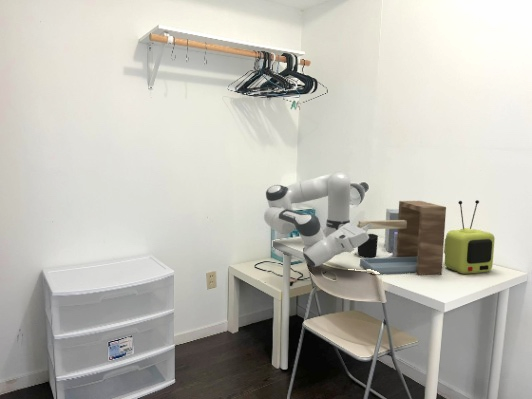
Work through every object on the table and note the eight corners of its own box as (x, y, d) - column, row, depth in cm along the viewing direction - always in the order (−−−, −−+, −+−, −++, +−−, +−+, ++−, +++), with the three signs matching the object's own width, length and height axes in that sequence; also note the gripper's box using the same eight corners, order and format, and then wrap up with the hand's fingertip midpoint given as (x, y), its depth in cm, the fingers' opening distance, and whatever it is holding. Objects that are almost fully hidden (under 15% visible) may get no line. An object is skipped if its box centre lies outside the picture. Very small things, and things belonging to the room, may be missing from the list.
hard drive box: (403, 253, 199) (405, 213, 197) (387, 252, 200) (389, 212, 198) (398, 245, 214) (400, 208, 212) (384, 245, 216) (385, 208, 213)
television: (463, 276, 163) (468, 203, 159) (433, 264, 180) (437, 197, 177) (497, 272, 168) (503, 201, 164) (465, 261, 185) (470, 196, 182)
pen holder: (373, 259, 187) (374, 238, 186) (354, 256, 192) (354, 235, 191) (379, 255, 195) (380, 234, 194) (360, 252, 200) (361, 232, 199)
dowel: (358, 227, 169) (358, 220, 169) (403, 226, 172) (403, 220, 172) (361, 229, 166) (361, 222, 166) (406, 228, 169) (406, 221, 169)
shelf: (396, 261, 183) (399, 200, 180) (416, 261, 185) (420, 200, 181) (419, 275, 164) (422, 207, 160) (441, 274, 165) (446, 207, 162)
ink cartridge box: (413, 257, 191) (414, 227, 189) (415, 260, 185) (416, 229, 184) (391, 256, 193) (393, 226, 191) (392, 259, 187) (394, 228, 186)
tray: (359, 265, 178) (360, 258, 177) (416, 263, 182) (417, 256, 181) (372, 275, 164) (373, 267, 163) (434, 272, 168) (434, 265, 167)
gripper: (335, 241, 178) (362, 225, 179) (352, 253, 158) (382, 235, 159) (329, 229, 177) (356, 213, 178) (345, 239, 157) (375, 221, 158)
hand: (368, 223), depth 168 cm, fingers closed on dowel, 3 cm apart
